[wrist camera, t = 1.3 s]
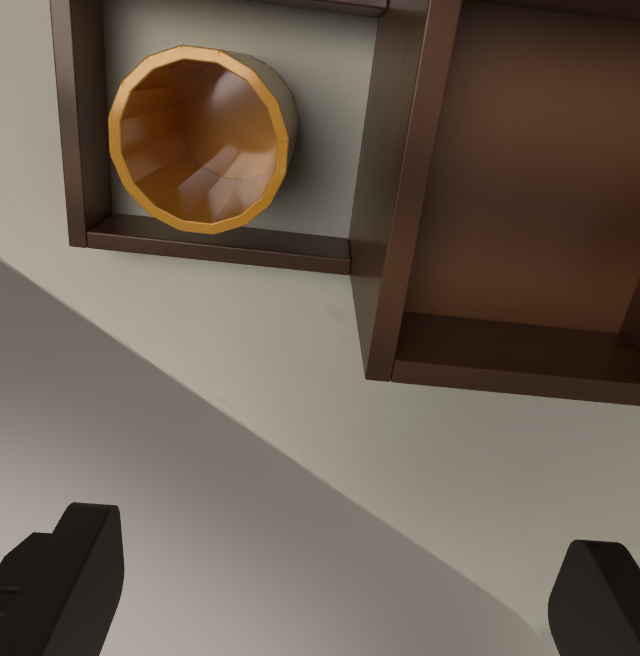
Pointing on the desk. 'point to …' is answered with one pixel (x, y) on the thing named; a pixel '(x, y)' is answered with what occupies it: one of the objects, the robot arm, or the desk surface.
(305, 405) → the desk surface
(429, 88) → the organizer
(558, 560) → the desk surface
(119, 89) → the cup
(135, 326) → the desk surface
